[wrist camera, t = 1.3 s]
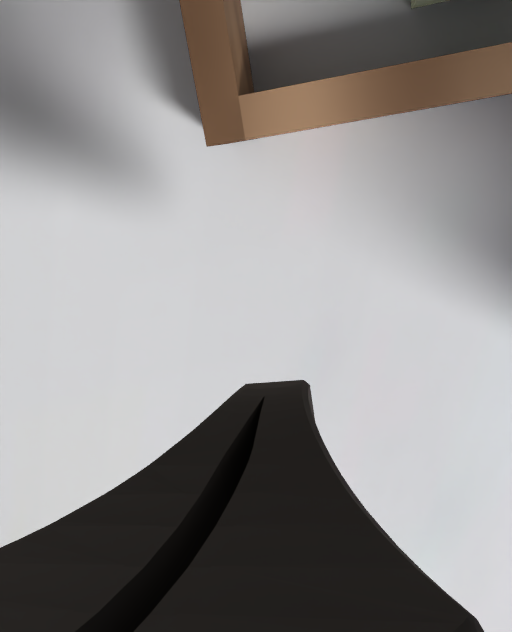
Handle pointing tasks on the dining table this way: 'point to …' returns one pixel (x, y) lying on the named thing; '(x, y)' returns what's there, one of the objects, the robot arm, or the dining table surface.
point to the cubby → (320, 82)
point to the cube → (424, 2)
